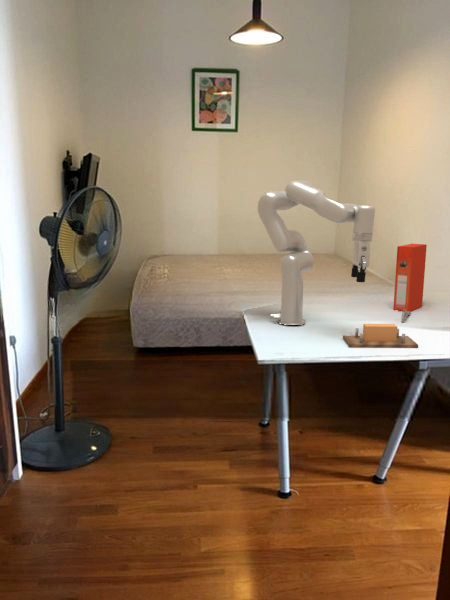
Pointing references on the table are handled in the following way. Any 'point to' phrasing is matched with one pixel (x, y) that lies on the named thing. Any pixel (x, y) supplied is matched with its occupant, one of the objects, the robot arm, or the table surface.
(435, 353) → the table surface
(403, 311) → the caliper
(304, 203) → the robot arm
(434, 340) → the table surface
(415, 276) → the file binder
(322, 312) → the table surface
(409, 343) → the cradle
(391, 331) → the jaw block
